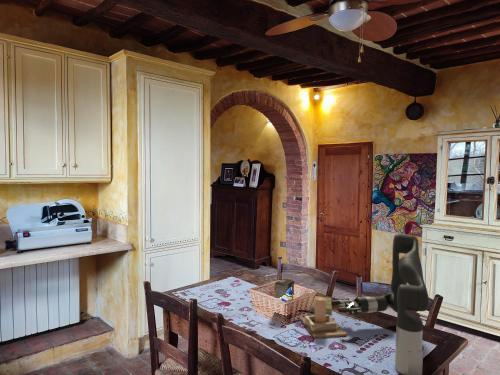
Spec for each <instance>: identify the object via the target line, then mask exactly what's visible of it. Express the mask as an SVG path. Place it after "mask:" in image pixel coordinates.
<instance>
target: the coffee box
mask: <svg viewBox="0 0 500 375" xmlns="http://www.w3.org/2000/svg"><path fill="white" fill-rule="evenodd" d="M290 287H292V289H293V295H294V296H295V280H291V279H289V278H283V279H280V280H279V281H275V291H274V292H275V296H274V298H280V297H282V296H283V295H285V293H286V291H287V290H288V289H289V288H290Z"/></svg>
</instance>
